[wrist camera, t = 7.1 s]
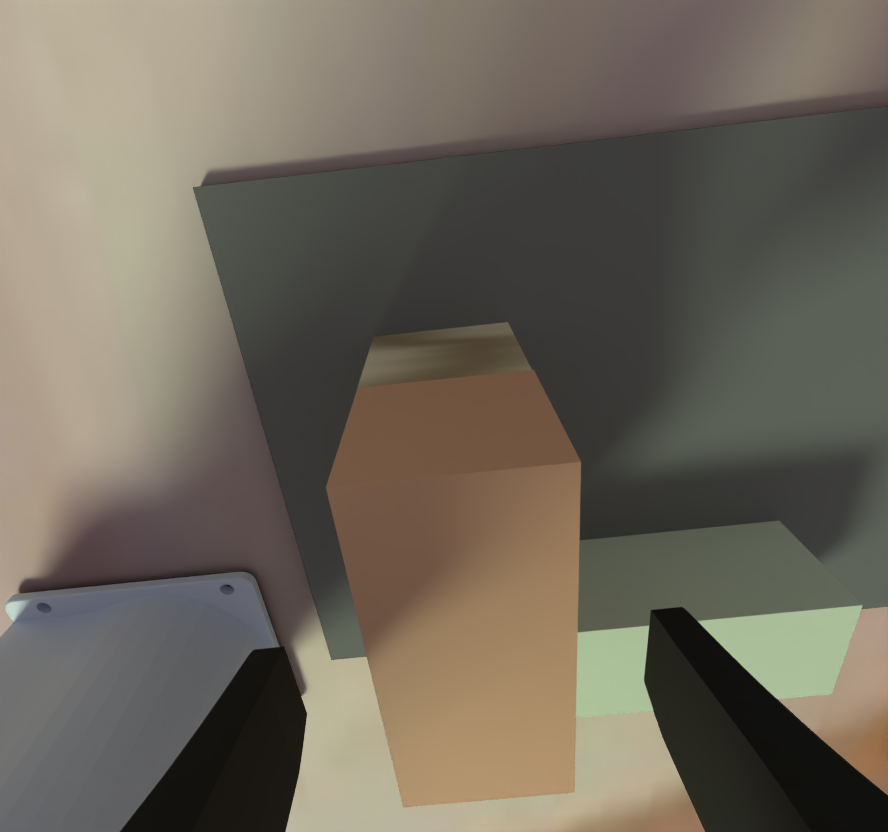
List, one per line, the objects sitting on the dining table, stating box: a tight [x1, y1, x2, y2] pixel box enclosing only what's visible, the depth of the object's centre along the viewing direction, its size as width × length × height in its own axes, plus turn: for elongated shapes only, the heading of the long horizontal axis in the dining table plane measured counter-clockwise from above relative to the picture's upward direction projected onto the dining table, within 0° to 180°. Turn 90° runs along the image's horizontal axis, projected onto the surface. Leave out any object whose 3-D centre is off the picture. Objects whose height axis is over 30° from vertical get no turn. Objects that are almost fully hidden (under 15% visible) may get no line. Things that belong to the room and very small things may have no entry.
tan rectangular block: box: [326, 370, 581, 807], centre depth 12 cm, size 4×9×4 cm, turn 6°
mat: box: [193, 106, 888, 660], centre depth 17 cm, size 26×18×1 cm
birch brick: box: [357, 322, 532, 388], centre depth 15 cm, size 4×9×4 cm, turn 6°
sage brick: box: [576, 521, 863, 718], centre depth 18 cm, size 9×4×4 cm, turn 96°
